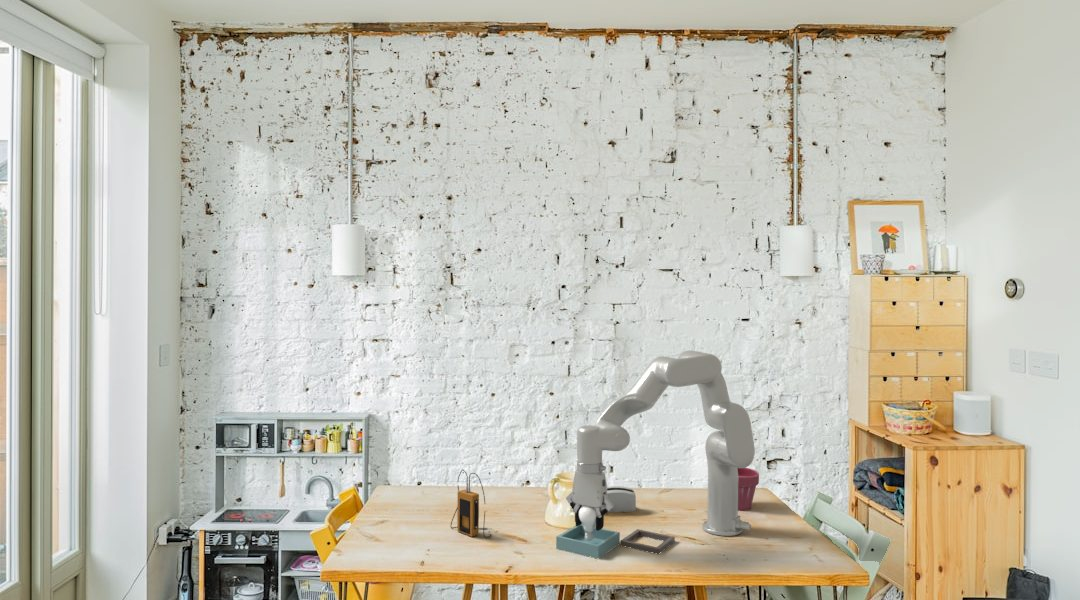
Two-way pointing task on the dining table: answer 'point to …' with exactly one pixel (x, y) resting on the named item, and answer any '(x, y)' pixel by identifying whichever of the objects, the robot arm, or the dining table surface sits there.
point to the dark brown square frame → (627, 542)
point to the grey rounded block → (621, 499)
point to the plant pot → (746, 487)
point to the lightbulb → (588, 520)
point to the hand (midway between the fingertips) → (589, 526)
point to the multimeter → (468, 511)
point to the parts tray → (578, 544)
